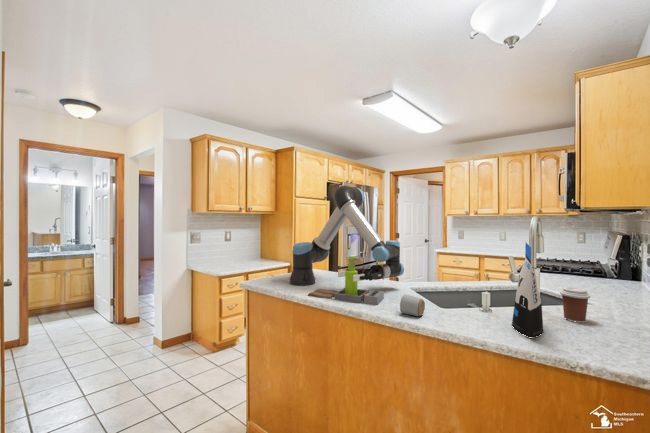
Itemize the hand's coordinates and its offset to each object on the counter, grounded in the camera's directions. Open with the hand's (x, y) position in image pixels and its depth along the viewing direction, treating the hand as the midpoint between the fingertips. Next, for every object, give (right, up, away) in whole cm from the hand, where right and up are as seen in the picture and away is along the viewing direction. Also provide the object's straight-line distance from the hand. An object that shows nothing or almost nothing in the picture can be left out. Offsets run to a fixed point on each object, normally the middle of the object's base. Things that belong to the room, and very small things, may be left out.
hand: (345, 276), depth 145 cm
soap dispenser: (+3, -11, +2) cm, 12 cm away
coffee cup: (+87, -12, -27) cm, 92 cm away
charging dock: (+7, -11, +1) cm, 13 cm away
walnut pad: (-10, -11, +9) cm, 17 cm away
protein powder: (+63, -12, -35) cm, 73 cm away
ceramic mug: (+26, -12, -20) cm, 35 cm away
